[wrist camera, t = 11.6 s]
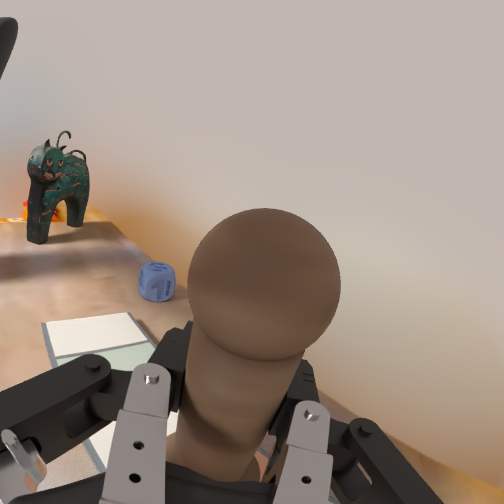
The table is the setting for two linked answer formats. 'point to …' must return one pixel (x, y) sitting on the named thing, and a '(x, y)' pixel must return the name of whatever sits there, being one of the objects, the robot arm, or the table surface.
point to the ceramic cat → (55, 188)
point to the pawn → (248, 335)
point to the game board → (120, 357)
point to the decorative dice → (156, 281)
